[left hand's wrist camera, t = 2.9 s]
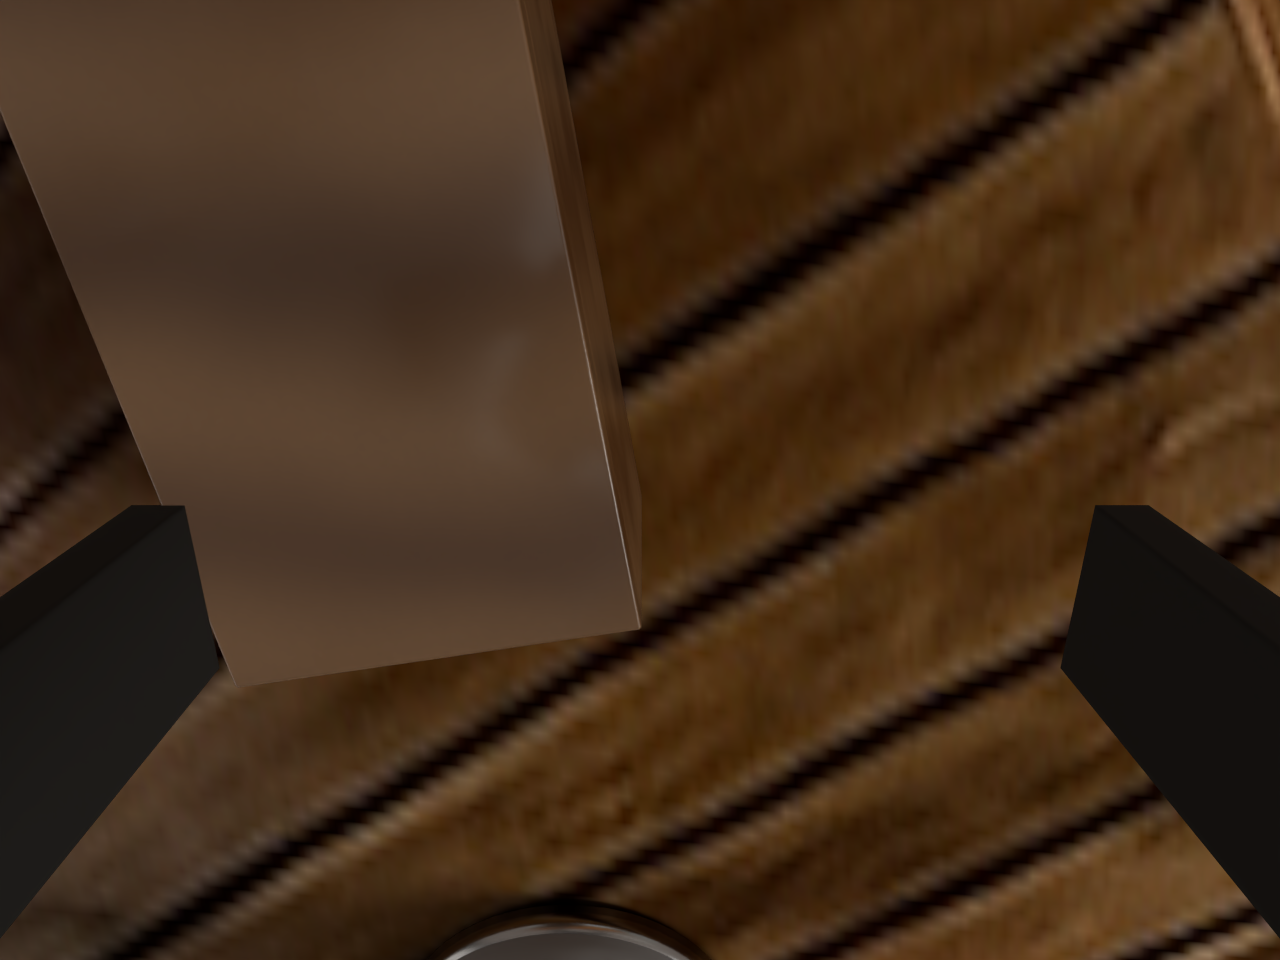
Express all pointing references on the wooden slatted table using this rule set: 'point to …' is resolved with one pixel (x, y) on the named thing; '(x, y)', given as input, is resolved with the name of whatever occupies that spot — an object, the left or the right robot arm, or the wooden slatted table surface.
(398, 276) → the cabinet
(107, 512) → the wooden slatted table surface
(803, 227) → the wooden slatted table surface
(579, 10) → the wooden slatted table surface
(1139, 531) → the left robot arm
